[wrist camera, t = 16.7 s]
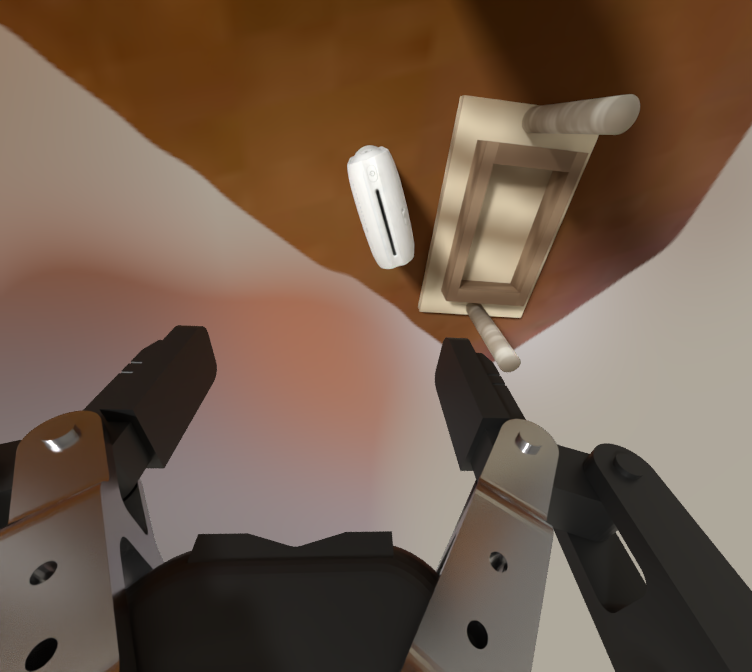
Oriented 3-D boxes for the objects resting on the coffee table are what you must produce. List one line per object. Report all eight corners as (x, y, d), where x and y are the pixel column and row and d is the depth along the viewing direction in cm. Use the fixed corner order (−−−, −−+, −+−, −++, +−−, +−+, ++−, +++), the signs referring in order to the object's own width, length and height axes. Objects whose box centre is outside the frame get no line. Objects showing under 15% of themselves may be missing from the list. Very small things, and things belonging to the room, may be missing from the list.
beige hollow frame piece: (460, 96, 30) (522, 76, 19) (597, 115, 32) (734, 107, 20) (418, 306, 44) (439, 369, 32) (516, 312, 45) (570, 375, 34)
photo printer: (345, 151, 33) (338, 162, 22) (383, 138, 32) (394, 141, 22) (373, 242, 38) (378, 283, 28) (406, 232, 38) (423, 270, 27)
